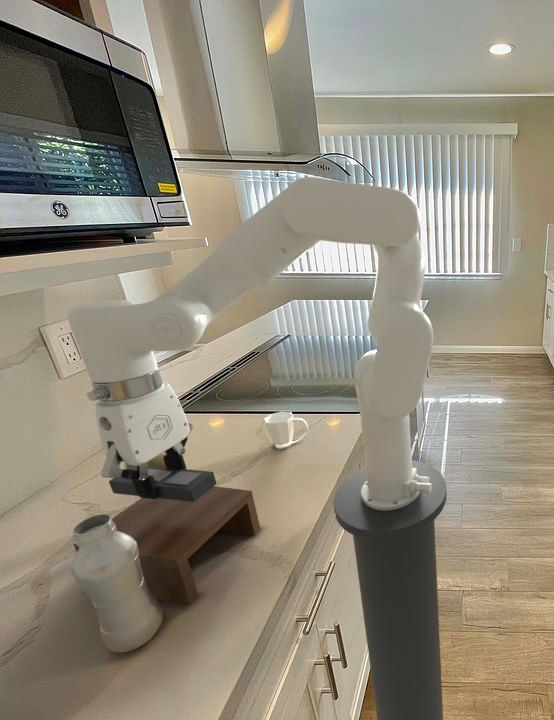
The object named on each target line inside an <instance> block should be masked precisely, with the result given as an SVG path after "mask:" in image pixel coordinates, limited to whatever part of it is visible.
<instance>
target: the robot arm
mask: <svg viewBox="0 0 554 720" xmlns="http://www.w3.org/2000/svg"><path fill="white" fill-rule="evenodd" d="M421 221H422V220H421V212H420V208H419V207H418V204H417V203H416V202H415V200H414V199H413V198H412V197H411V195H409V194H407V193H406V192H404V191H401V190H400V189H396V188H393V187H386V186H385V187H384V186H378V185H370V184H363V183H357V182H356V183H355V182H348V181H342V180H341V181H340V180H335V179H334V180H333V179H329V178H323V177H316V176H314V177H313V176H305V177H300V178H297V179H295V180H293V182H291V183H290V184H289V185H288V186H287V187H286V188H284V189H283V190H282V191H281V192H280V193H278V194H277V195H276V196H275V197H274V198H272V199H271V200H270V201H269V202H268V203H266V204H265V205H264V206H263V207H261V208H260V209H258V210H257V211H256V212H255V213H254V214H252V215H251V216H250V217H249V218H247V219H246V220H245V221H244V222H242V224H240V225H239V226H238V227H236V228H235V229H234V230H231V232H230V233H229V234H227V235H226V236H225V237H224V238H223V239H222V240H220V242H219V243H218V244H217V246H216V248H215V249H214V250H213V251H212V252H211V253H210V254H209V255H208V256H207V257H206V258H204V260H203V261H201V262H200V263H199V264H198V265H197V266H196V267H194V268H193V269H192V270H191V271H190V272H188V273H187V274H186V275H185V276H183V277H182V278H181V279H179V280H178V281H177V282H176V283H175V284H174V285H172V286H171V287H169V288H168V289H167V290H165V291H164V292H162V293H161V294H160V295H158V296H157V297H156V298H154V299H152V300H150V301H147V302H143V303H137V304H136V303H134V302H132V301H130V300H125V299H109V300H108V299H107V300H98V301H91V302H86V303H81V304H77V305H75V306H73V307H71V308H70V309H69V310H68V312H67V320H68V324H69V326H70V329H71V332H72V335H73V337H74V340H75V342H76V345H77V347H78V351H79V353H80V356H81V358H82V360H83V363H84V366H85V368H86V371H87V373H88V376H89V379H90V381H91V386H92V390H90V391H88V392H87V393H86V396H87V399H88V400H90V401H92V402H95V401H98V402H96V403H95V415H96V416H95V417H96V424H97V428H98V433H99V437H100V440H101V443H102V447H103V450H104V452H105V454H106V458H105V460H104V463H103V466H102V469H101V472H100V476H101V478H108V479H113V478H126V479H132V482H133V485H134V487H135V490H136V493H137V495H138V496H137V497H139V498H140V499H141V498H148V499H157V498H158V497H159V495H160V494H159V492H158V489H157V485H156V483H155V480H154V477H153V476H148V463H147V462H148V461H150V460H152V459H153V458H155V457H157V456H158V455H160V454H165V453H166V454H167V455H165V456H163V457H164V462H165V465H166V467H167V468H177V469H187V465H186V462H185V459H184V455H185V453H186V448H185V447H186V444H187V442H188V438H189V436H190V434H191V432H192V430H193V428H194V425H193V424H192V423H190V422H189V421H188V418H187V416H186V413H185V411H184V409H183V406H182V404H181V402H180V400H179V398H178V396H177V395H176V393H175V391H174V389H173V388H172V387H171V385H170V384H169V382H167V381H163V379H162V376H161V373H160V370H159V367H158V363H157V360H156V357H155V353H154V352H173V351H174V352H175V351H181V350H182V351H183V350H185V349H189V348H191V347H192V346H194V345H196V344H197V342H198V341H199V340H200V339H201V338H202V336H203V334H204V332H205V330H206V328H207V326H208V325H209V324H210V323H212V322H213V321H214V320H215V319H216V318H218V317H219V316H220V315H221V314H222V313H223V312H224V311H226V309H228V308H229V307H230V306H231V305H233V304H234V303H235V302H237V301H238V300H240V299H241V298H242V297H244V296H245V295H246V294H247V293H250V292H252V291H253V290H255V289H257V288H260V287H264V286H265V285H268V284H269V283H270V282H272V281H274V280H275V279H276V278H277V277H279V276H280V275H281V274H282V273H283V272H285V271H286V270H287V269H288V268H289V267H290V266H292V265H293V264H294V263H295V262H296V261H298V260H299V259H300V258H301V257H302V256H303V255H305V254H306V253H307V252H308V251H309V250H310V249H312V248H313V247H314V246H315V245H316V244H318V243H319V242H320V241H324V242H329V243H330V242H331V243H340V244H351V245H367V246H373V248H374V250H375V253H376V259H377V267H376V268H377V269H376V275H375V276H376V277H375V285H374V288H373V289H374V290H373V294H372V300H371V303H370V309H369V313H368V318H367V330H368V333H369V335H370V337H371V339H373V340H374V341H375V343H376V349H375V350H371V351H368V352H366V353H365V354H363V355H362V356H361V357H360V358H359V359H358V361H357V363H356V365H355V367H354V372H353V374H354V375H353V382H354V389H355V395H356V399H357V404H358V411H359V418H360V425H361V426H360V427H361V436H362V445H363V446H362V447H363V455H364V456H363V457H364V464H365V467H366V474H367V481H366V482H365V483H364V485H363V486H362V489H361V497H362V500H363V502H364V503H365V504H366V505H367V506H368V507H370V508H373V509H376V510H384V511H387V510H395V509H399V508H402V507H404V506H406V505H408V504H410V503H411V502H413V501H414V500H415V499H416V498H417V496H418V495H419V493H420V492H425V493H431V490H432V484H431V483H429V477H420V476H419V475H417V468H412V460H413V459H412V458H413V457H412V456H413V455H412V443H411V427H410V426H411V424H410V423H411V421H410V414H411V413H412V412H413V411H414V410H415V409H416V407H417V406H418V404H419V402H420V400H421V398H422V394H423V391H424V387H425V383H426V379H427V374H428V370H429V364H430V361H431V356H432V351H433V347H434V329H433V325H432V322H431V320H430V318H429V316H428V315H427V314H426V313H425V312H424V310H422V309H421V308H420V304H421V299H422V293H423V286H424V279H425V273H426V272H425V271H426V259H425V258H426V257H425V253H424V249H423V246H422V243H421V240H420V238H419V236H418V233H419V230H420V228H421ZM122 462H123V465H124V468H120V465H121V463H122ZM136 466H137V471H136Z"/></svg>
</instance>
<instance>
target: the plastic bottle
mask: <svg viewBox="0 0 554 720" xmlns="http://www.w3.org/2000/svg"><path fill="white" fill-rule="evenodd" d="M112 518H113V517H112V516H111V515H110V514H109V513H99V514H95V515H92V516H89V517H87V518H86V519H84V520H81V521H80V522H79V523H77V524H76V525H75V526H74V527H73V529H72V535H73V537H74V542H75V544H76V545H77V546H79V549H78V551H77V552H75V554H74V557H73V559H72V562H71V575H72V576H73V578H74V579H75V581H76V582H77V584H78V585H79V586H80V587H81V588H82V589H83V591H84V592H85V593H86V594H87V596H88V598H89V600H90V601H91V603H92V605H93V606H94V609H95V611H96V615H97V618H98V622H99V628H100V629H99V630H100V637H101V641H102V643H103V645H104V646H105V647H106V648H107V649H108V650H109V651H111V652H113V653H128V652H131V651H133V650H135V649H138V648H140V647H141V646H144V645H145V644H146V643H147V642H148V641H150V640H151V639H152V638H153V637H154V636H155V634H156V633H157V632H158V630H159V628H160V627H161V624H162V621H163V609H162V605H161V604H160V602H159V601H158V599H156V598H155V597H154V596H153V595H152V593H151V591H150V590H149V588H148V586H147V584H146V582H145V580H144V576H143V573H142V569H141V566H140V559H139V552H138V546H137V542H136V541H135V540H134V539H133V538H132V537H131V536H129V535H127V534H125V533H122V532H119V531H116V524H115V523H114V522H113V520H112Z"/></svg>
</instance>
